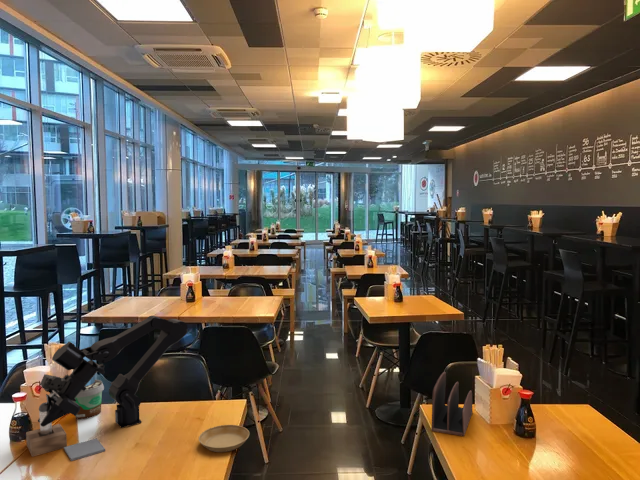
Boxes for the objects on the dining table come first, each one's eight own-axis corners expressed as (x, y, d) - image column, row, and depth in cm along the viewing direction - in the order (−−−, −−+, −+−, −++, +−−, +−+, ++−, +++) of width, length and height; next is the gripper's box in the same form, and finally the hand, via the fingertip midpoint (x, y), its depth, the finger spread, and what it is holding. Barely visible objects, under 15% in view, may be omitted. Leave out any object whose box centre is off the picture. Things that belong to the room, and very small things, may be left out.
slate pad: (96, 440, 149) (96, 438, 149) (105, 450, 142) (105, 448, 142) (63, 449, 144) (63, 447, 144) (71, 461, 137) (71, 458, 137)
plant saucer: (238, 458, 138) (238, 449, 138) (190, 453, 141) (189, 444, 141) (256, 434, 152) (256, 426, 152) (211, 431, 155) (211, 422, 155)
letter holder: (431, 431, 153) (431, 386, 152) (442, 408, 171) (443, 368, 170) (464, 437, 149) (464, 391, 148) (472, 412, 167) (473, 371, 166)
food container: (89, 422, 162) (88, 392, 162) (73, 421, 164) (71, 391, 163) (112, 407, 174) (111, 380, 174) (96, 406, 176) (95, 379, 175)
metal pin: (51, 442, 148) (49, 399, 147) (53, 446, 146) (52, 402, 145) (39, 445, 146) (37, 402, 145) (41, 449, 144) (39, 405, 143)
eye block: (60, 436, 152) (59, 423, 152) (66, 446, 145) (66, 433, 145) (26, 445, 147) (26, 432, 146) (31, 456, 140) (31, 442, 139)
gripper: (50, 357, 154) (11, 401, 148) (66, 371, 140) (23, 420, 133) (78, 376, 160) (41, 419, 153) (96, 391, 146) (56, 439, 139)
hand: (40, 424), depth 145 cm, fingers closed on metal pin, 3 cm apart
